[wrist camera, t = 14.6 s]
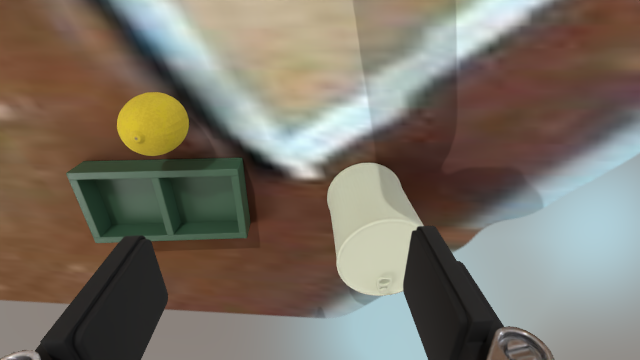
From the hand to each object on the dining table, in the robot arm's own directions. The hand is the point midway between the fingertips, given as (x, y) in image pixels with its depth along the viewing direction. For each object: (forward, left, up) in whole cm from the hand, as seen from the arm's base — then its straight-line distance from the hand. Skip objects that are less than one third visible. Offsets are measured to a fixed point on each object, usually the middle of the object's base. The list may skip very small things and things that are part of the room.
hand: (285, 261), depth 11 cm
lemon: (+1, -13, -24) cm, 28 cm away
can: (+12, +8, -24) cm, 28 cm away
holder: (+11, -15, -24) cm, 31 cm away
